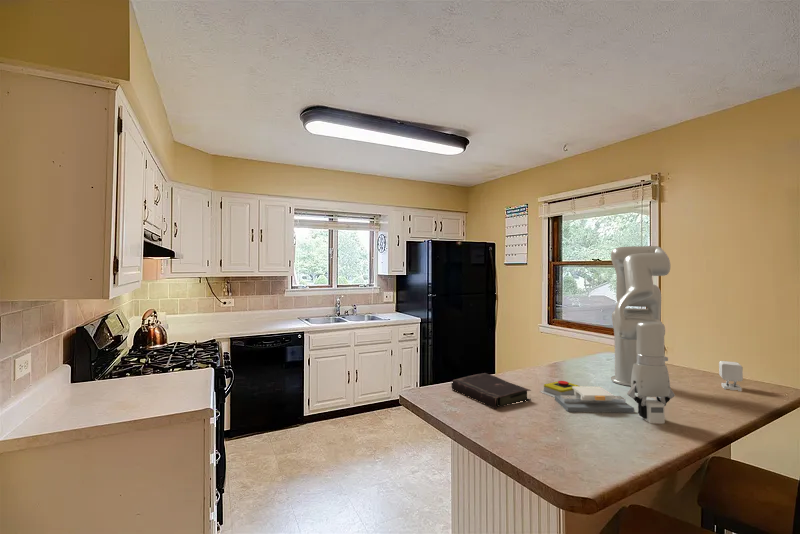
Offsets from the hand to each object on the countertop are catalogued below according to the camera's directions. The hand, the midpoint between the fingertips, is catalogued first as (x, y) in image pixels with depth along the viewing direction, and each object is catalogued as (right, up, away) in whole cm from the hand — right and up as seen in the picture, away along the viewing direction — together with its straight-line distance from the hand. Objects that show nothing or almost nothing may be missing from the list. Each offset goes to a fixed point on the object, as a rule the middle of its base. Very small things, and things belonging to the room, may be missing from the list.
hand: (651, 416), depth 121 cm
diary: (-46, -2, +25) cm, 52 cm away
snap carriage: (-12, +2, +12) cm, 17 cm away
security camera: (+53, -1, +32) cm, 62 cm away
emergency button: (-17, -2, +28) cm, 33 cm away
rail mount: (-12, -1, +13) cm, 18 cm away
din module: (0, -1, 0) cm, 1 cm away
